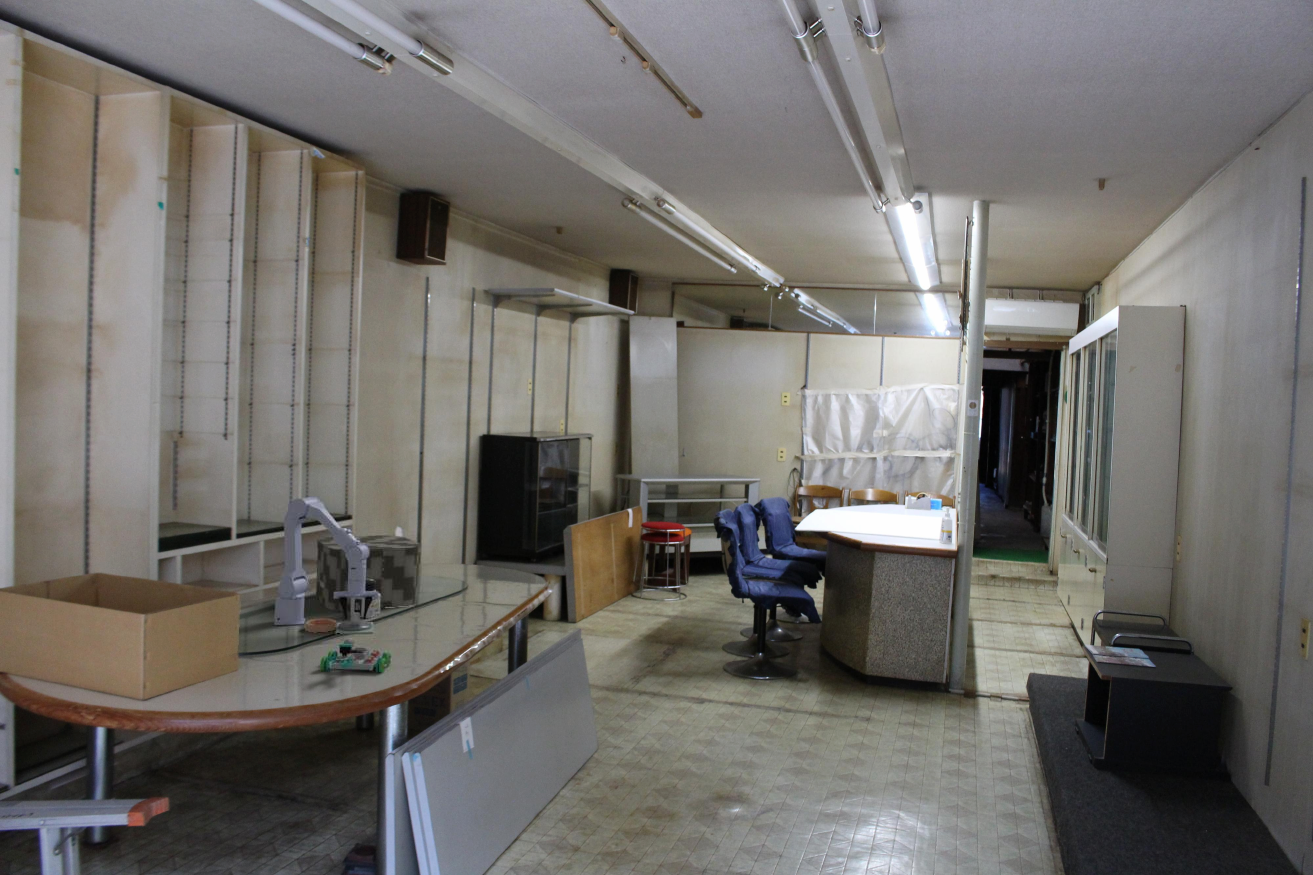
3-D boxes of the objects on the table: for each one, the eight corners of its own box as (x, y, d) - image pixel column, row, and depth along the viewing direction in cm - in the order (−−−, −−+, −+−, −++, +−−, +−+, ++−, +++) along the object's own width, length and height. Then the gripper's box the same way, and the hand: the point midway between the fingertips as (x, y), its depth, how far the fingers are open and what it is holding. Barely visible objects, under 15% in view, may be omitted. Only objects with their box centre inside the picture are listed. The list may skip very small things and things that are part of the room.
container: (369, 618, 324) (370, 582, 324) (350, 616, 326) (351, 581, 325) (380, 614, 332) (381, 579, 331) (361, 612, 333) (362, 577, 333)
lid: (337, 631, 302) (337, 617, 302) (338, 623, 312) (339, 610, 312) (371, 630, 305) (372, 616, 305) (371, 623, 315) (372, 609, 315)
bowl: (304, 633, 300) (304, 625, 300) (307, 626, 309) (307, 619, 309) (334, 632, 302) (335, 625, 302) (336, 625, 311) (336, 618, 311)
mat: (335, 634, 300) (335, 632, 300) (337, 624, 314) (337, 622, 314) (372, 633, 304) (372, 631, 304) (373, 623, 317) (373, 622, 317)
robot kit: (304, 685, 246) (305, 651, 246) (332, 660, 271) (333, 629, 271) (373, 687, 247) (374, 653, 247) (394, 662, 272) (395, 631, 272)
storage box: (425, 606, 349) (427, 546, 348) (332, 613, 329) (335, 551, 329) (396, 589, 378) (398, 534, 377) (309, 595, 358) (311, 537, 358)
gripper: (333, 581, 302) (332, 621, 303) (378, 581, 307) (377, 621, 307) (334, 577, 309) (333, 617, 309) (378, 577, 313) (377, 616, 314)
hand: (355, 618), depth 309 cm, fingers open, 5 cm apart
